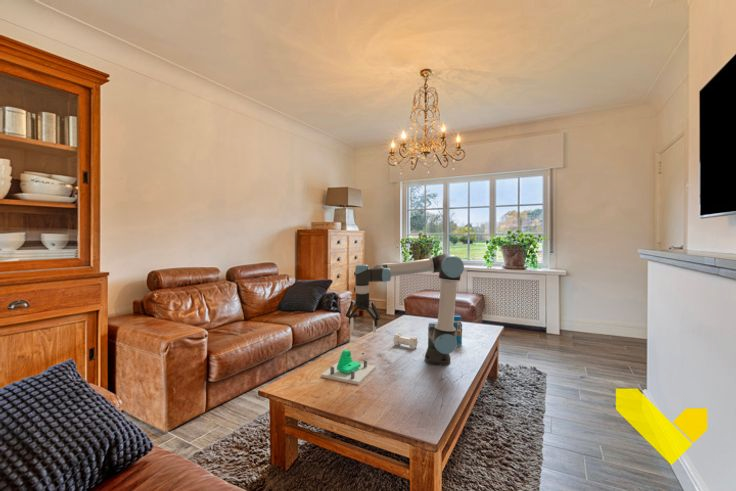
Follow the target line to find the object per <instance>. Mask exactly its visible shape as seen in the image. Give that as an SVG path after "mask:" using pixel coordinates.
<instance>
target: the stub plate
mask: <svg viewBox="0 0 736 491" xmlns="http://www.w3.org/2000/svg"><path fill="white" fill-rule="evenodd" d="M338 362H339V361H337V362H336V363H335V364H333V365H332V366H330V367H329V368H327V369H326V370H325V371H323V372H322V373H321V375H320V377H321V378H323V379H329V380H333V381H338V382H339V381H340V382H344V383H347V384H348V383H349V384H352V385H358V386H359V385H360V384H361V383H362V382H364V381H365V380H366V379H367V378H368V377H369V376H370V375H371V374H372V373H373V372H374V371H375V370H376V368H377V366H376V365H371V364H368V359H363V363H361V367H359V368H357V371H354V370H352V371H351V373H345V372H342V371H339V370H337V365H338Z"/></svg>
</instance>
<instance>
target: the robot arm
mask: <svg viewBox="0 0 736 491" xmlns="http://www.w3.org/2000/svg"><path fill="white" fill-rule="evenodd" d="M464 269H465V264H464V262H463V260H462V259H461V257H459V256H457V255H456V254H450V253H442V254H439V255H438V254H437V255H434V256H429V257H428V258H424V259H418V260H417V259H416V260H409V261H404V262H403V261H402V262H396V263H389V264H388V263H387V264H376V265H374V266H373V268H371V267H370V266H369V264H357V265H356V266H355V269H354V271H355V272H354V274H355V277H354V278H355V281H354V282H355V300H351V301H350V302H349V304H350V305H349V308H348V309H347V311H346V314H345V318H348V324H349V325H350V326H349V327H350V329H349V330H350V331H353V330H354V324H355V323H354V322H355V321H354V317H353V316H354V315H355V314H356V313H357V312H358V310H360V311H362V310H363V311H366V312H367V313H368V314H369V315H370V317H371V318H372V333H373V334H375V333H376V332H377V326H378V323H379V322H378V321H379V320H380V319H381V318H382V317H381V315H380V313H379V310H378V308H377V307H376V302H375V301H373V302H372V301H370V293H369V292H370V283H373V282H375V283H379V282H380V283H381V282H383V283H386V282H390V281H391V278H392V277H399V276H405V275H406V276H407V275H415V274H422V273H428V272H431V273H433V274H434V273H435V274H436V273H438V279H439V280H440V291H439V301H438V302H439V304H438V313H437V314H438V315H437V321H431V322H429V323H428V327H427V329H428V330H427V331H428V332H427V338H428V339H427V349H426V352H425V354H424V362H426V363H427V364H430V365H433V366H434V365H435V366H446V365H447V366H448V365H449V364H450V363H451V353H453V352H455V351H456V349H457V347H458V346H457V341H456V338H455V332H456V329H455V327H454V326H453V323H454V315H455V309H456V300H457V287H458V283H459V282H460V281H461V277H462V274H463V272H464ZM355 305H356V307H355V308H354V306H355ZM370 306H371V307H370ZM353 308H354V309H353Z"/></svg>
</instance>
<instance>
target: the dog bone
mask: <svg viewBox="0 0 736 491" xmlns="http://www.w3.org/2000/svg"><path fill="white" fill-rule="evenodd" d="M392 341H393V345H394V346H396V347H398V346H401V345H403V346H409V349H410V350H414V349H417V347H418V346H417V345H418V343H419V341H418V337H417V336H416V335H415V336H414V335H412V337H406V336H402V333H400V332H398V333H396V334H394V337H393V339H392Z"/></svg>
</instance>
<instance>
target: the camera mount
mask: <svg viewBox="0 0 736 491" xmlns="http://www.w3.org/2000/svg"><path fill="white" fill-rule="evenodd" d="M337 362H338V365H337V370H339V371H342V372H345V373H351V371H352V370H354V371H357V368H359V367H361V364H362V363H361V362H358V361H356V360H353V359H352V352H351V350H347V349H343V350H342V352H341V354H340V357H339V360H338V361H337Z"/></svg>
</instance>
